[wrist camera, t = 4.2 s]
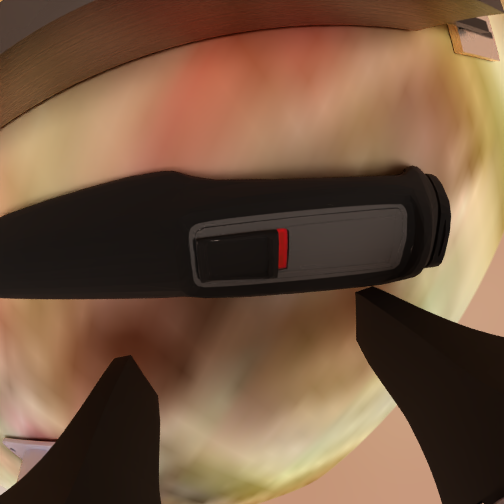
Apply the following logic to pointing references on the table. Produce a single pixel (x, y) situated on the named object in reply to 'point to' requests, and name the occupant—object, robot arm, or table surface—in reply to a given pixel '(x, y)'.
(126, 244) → the electric trimmer
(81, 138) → the table surface
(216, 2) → the gauge plunger
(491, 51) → the gauge frame
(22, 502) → the robot arm
